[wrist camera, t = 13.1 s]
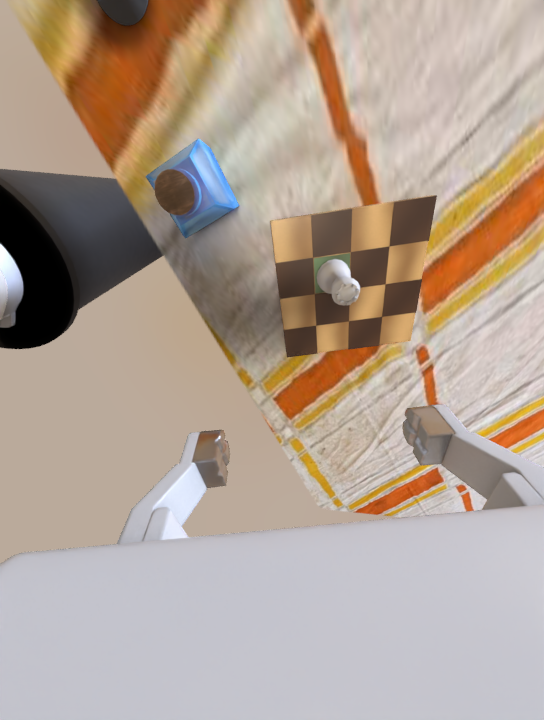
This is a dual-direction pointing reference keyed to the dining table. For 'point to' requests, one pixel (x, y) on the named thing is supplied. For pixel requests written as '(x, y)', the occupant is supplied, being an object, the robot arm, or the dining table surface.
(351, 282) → the rook chess piece
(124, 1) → the sundae
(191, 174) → the perfume bottle
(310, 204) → the dining table surface
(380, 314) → the chessboard
